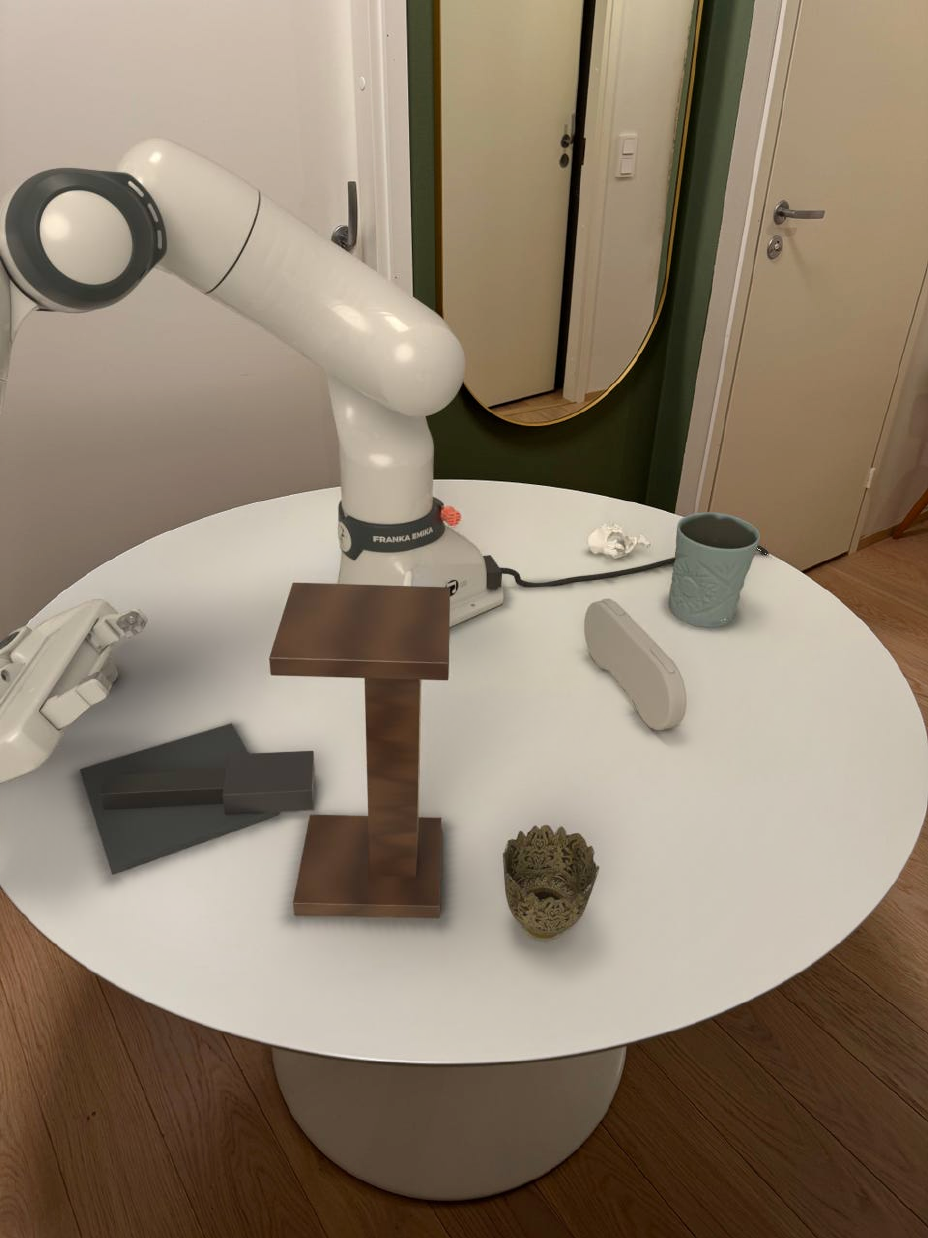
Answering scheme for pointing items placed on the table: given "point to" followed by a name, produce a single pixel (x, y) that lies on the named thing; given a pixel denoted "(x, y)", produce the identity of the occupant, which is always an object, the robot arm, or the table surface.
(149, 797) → the block with square shaft
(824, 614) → the table surface
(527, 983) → the table surface
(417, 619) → the stand
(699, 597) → the teal embossed pot
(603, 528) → the pelvis model
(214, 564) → the table surface
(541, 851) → the cup
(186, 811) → the mat
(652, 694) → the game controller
